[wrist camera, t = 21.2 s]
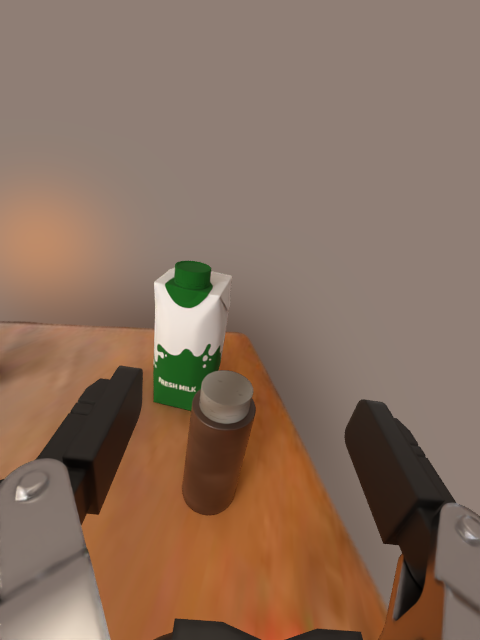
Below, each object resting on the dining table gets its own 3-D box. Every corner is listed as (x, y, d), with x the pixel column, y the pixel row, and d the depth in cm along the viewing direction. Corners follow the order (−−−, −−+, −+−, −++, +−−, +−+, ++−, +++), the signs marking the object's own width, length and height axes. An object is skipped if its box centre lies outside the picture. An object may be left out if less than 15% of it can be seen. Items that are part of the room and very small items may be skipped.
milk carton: (144, 405, 39) (146, 263, 30) (168, 366, 47) (176, 246, 38) (206, 420, 38) (227, 281, 29) (220, 378, 46) (240, 259, 37)
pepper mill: (172, 503, 28) (182, 397, 22) (195, 456, 33) (208, 359, 27) (225, 524, 28) (252, 420, 21) (240, 473, 33) (265, 377, 26)
